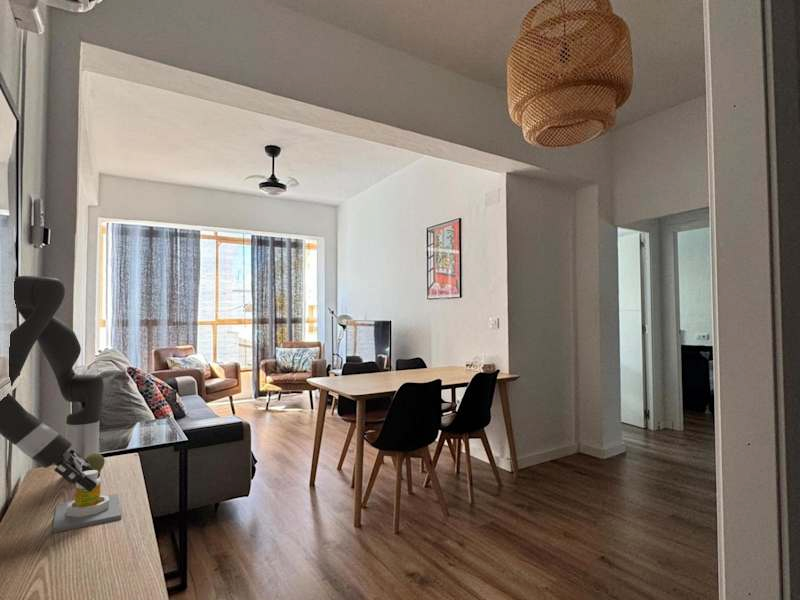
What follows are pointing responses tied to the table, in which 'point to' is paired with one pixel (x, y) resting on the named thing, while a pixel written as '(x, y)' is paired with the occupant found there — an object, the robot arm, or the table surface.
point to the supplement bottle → (85, 496)
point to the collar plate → (86, 513)
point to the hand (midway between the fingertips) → (95, 483)
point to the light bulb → (96, 462)
